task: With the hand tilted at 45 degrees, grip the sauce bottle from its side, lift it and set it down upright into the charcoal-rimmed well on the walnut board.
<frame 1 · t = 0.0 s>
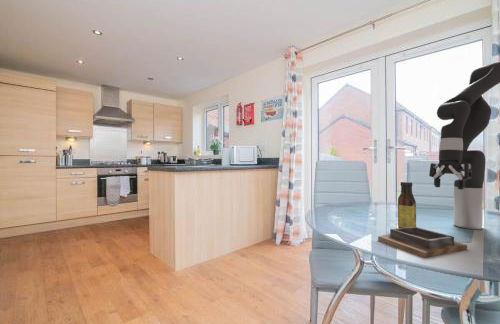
hand: (448, 188, 98), 17 cm above the table, tool pointing down, fingers open, 8 cm apart
sauce bottle: (406, 231, 96), on the table
walnut dock board: (420, 244, 80), on the table
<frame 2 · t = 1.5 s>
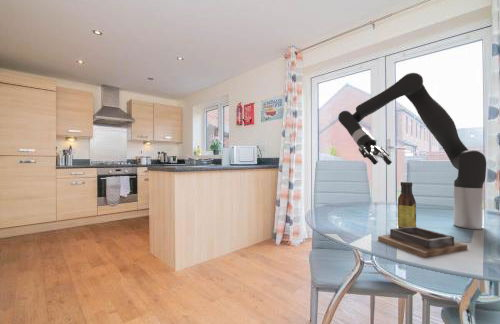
hand: (383, 163, 106), 27 cm above the table, tool tilted 45°, fingers open, 8 cm apart
nothing on the table moved.
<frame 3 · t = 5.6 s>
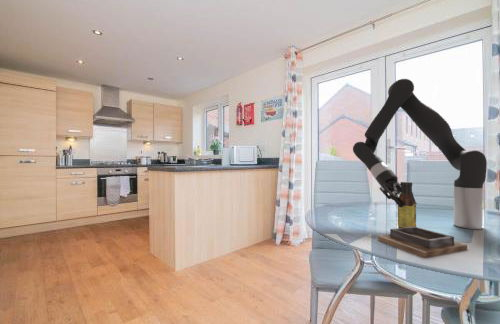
hand: (408, 205, 95), 10 cm above the table, tool tilted 45°, fingers closed on sauce bottle, 6 cm apart
sauce bottle: (406, 231, 96), on the table, touching gripper
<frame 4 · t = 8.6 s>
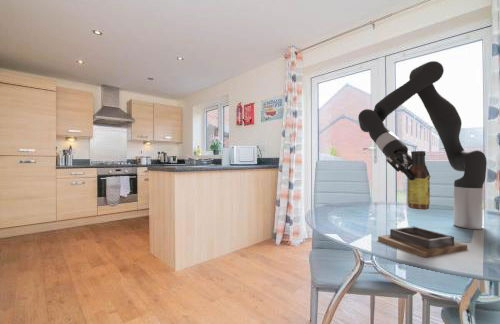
hand: (420, 178, 81), 22 cm above the table, tool tilted 45°, fingers closed on sauce bottle, 6 cm apart
sauce bottle: (417, 208, 82), point 12 cm above the table, touching gripper
when the fingers open (13 cm above the table, at t = 11.5 s): sauce bottle drops 1 cm, resting on walnut dock board.
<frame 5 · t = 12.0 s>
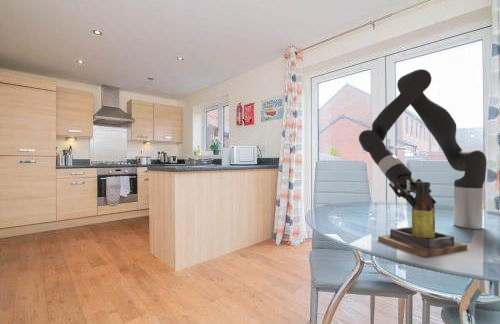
hand: (425, 205, 79), 14 cm above the table, tool tilted 45°, fingers open, 8 cm apart
sauce bottle: (422, 241, 79), point 1 cm above the table, touching walnut dock board
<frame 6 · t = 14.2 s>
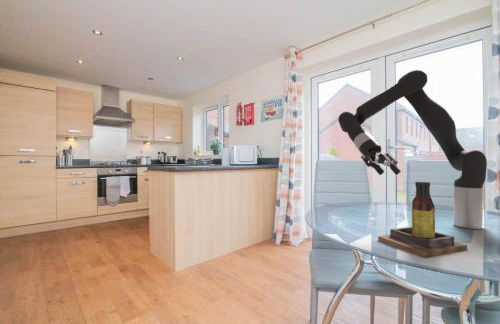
hand: (390, 173, 91), 24 cm above the table, tool tilted 45°, fingers open, 8 cm apart
nothing on the table moved.
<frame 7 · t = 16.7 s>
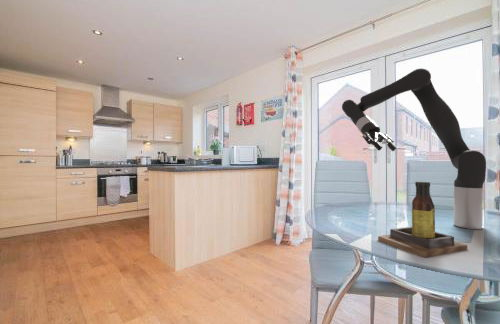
hand: (387, 149, 106), 34 cm above the table, tool tilted 45°, fingers open, 8 cm apart
nothing on the table moved.
at the end: sauce bottle 0.7 cm off-centre on the walnut dock board, point 1.3 cm above the walnut dock board's base; sauce bottle tilted 0°; the gripper is holding nothing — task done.
